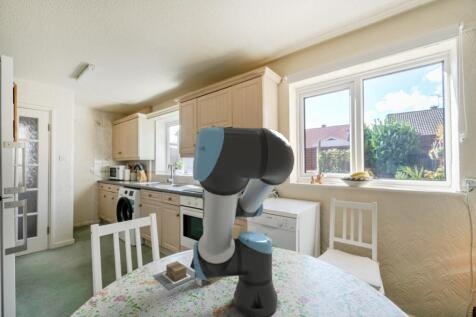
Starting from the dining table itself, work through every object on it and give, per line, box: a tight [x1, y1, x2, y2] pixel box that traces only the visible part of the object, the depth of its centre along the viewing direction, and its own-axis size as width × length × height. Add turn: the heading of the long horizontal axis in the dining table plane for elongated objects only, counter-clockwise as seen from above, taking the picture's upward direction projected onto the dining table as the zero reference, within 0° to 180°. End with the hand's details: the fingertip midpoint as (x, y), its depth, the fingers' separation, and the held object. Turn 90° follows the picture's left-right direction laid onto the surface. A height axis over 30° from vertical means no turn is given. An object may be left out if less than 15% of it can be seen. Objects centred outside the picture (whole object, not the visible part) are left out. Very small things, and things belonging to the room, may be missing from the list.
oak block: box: [204, 278, 223, 285], centre depth 91 cm, size 6×6×6 cm
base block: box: [165, 260, 187, 281], centre depth 92 cm, size 8×5×4 cm, turn 45°
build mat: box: [152, 263, 196, 291], centre depth 92 cm, size 14×14×1 cm
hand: (212, 278), depth 91 cm, fingers open, 12 cm apart
